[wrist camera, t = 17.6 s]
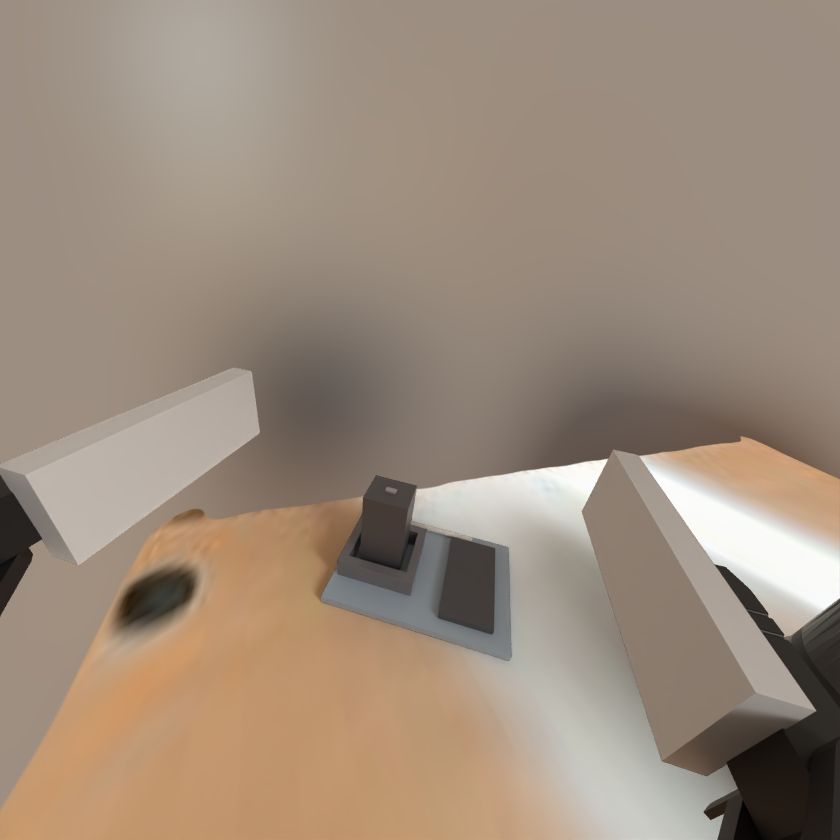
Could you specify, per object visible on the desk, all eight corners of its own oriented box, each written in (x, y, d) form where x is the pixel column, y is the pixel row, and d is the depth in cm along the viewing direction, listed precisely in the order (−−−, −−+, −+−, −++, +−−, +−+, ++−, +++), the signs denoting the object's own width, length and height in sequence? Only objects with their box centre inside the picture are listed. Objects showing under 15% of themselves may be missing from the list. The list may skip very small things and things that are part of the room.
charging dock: (506, 551, 45) (513, 534, 43) (509, 661, 33) (518, 643, 31) (366, 514, 48) (367, 496, 46) (321, 601, 36) (320, 582, 34)
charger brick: (406, 549, 42) (417, 484, 37) (398, 576, 39) (408, 507, 33) (371, 539, 43) (376, 473, 37) (359, 564, 39) (363, 495, 34)
